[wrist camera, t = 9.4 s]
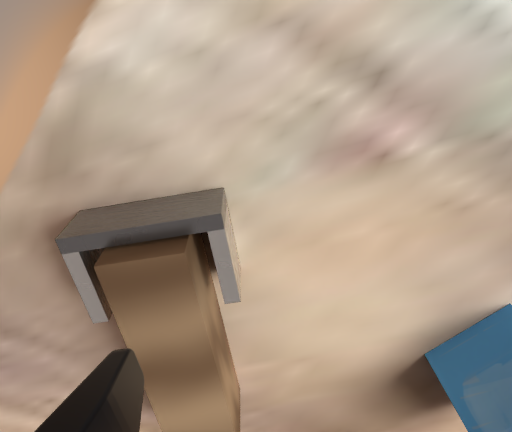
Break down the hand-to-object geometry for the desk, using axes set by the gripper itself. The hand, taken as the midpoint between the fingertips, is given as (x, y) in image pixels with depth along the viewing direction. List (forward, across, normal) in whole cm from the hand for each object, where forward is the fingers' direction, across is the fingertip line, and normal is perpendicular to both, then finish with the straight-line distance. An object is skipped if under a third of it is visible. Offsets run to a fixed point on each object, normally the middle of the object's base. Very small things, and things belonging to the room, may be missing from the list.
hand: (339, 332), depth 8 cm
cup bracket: (+12, +7, +4) cm, 14 cm away
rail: (+12, +7, +9) cm, 17 cm away
